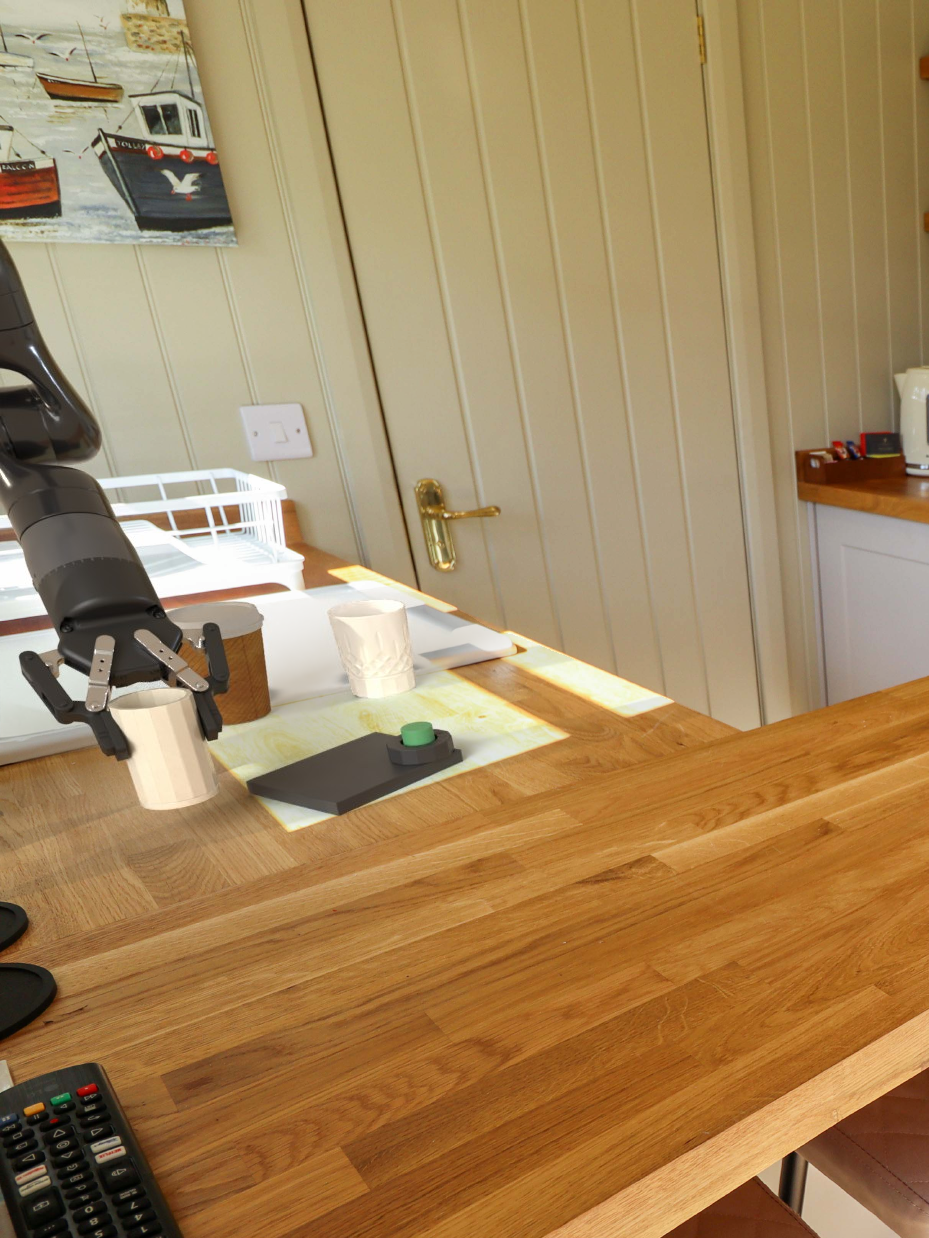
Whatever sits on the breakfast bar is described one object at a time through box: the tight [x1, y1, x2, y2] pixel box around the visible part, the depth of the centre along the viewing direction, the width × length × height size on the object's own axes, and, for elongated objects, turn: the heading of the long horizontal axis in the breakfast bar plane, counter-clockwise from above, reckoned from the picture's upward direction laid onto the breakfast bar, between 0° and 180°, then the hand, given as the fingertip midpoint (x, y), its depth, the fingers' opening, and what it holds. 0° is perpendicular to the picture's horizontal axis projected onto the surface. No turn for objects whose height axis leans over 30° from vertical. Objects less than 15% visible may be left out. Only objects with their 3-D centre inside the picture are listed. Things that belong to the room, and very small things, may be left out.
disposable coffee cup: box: [165, 600, 272, 726], centre depth 120 cm, size 10×10×12 cm
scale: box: [245, 728, 464, 817], centre depth 107 cm, size 14×12×3 cm
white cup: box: [327, 599, 417, 699], centre depth 129 cm, size 8×8×10 cm
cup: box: [107, 686, 221, 811], centre depth 92 cm, size 6×6×9 cm
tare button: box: [400, 721, 435, 746], centre depth 109 cm, size 3×3×2 cm
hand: (169, 745), depth 91 cm, fingers closed on cup, 5 cm apart
